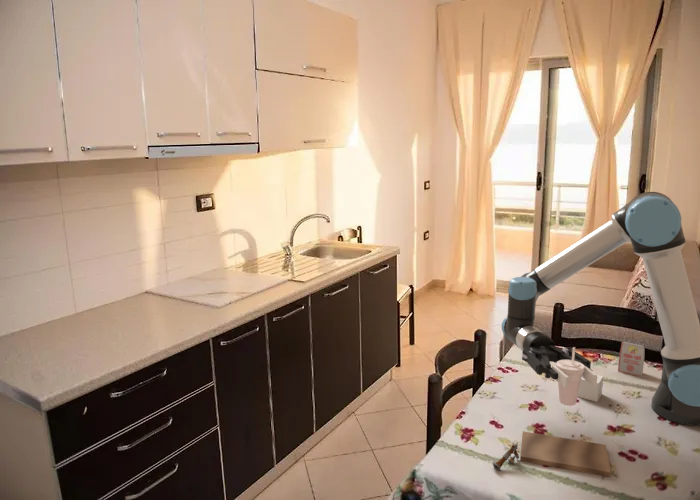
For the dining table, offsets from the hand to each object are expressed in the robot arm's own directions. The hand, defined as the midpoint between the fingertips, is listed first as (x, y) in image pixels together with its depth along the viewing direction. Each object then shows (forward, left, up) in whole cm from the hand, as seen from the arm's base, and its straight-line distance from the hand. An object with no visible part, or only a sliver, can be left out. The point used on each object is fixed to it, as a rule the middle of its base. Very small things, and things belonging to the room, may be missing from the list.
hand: (581, 381), depth 125 cm
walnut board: (+2, -5, -22) cm, 23 cm away
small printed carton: (-20, -63, -22) cm, 69 cm away
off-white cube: (-6, -41, -22) cm, 47 cm away
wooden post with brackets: (+16, +4, -22) cm, 27 cm away
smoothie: (+2, -5, -8) cm, 9 cm away
